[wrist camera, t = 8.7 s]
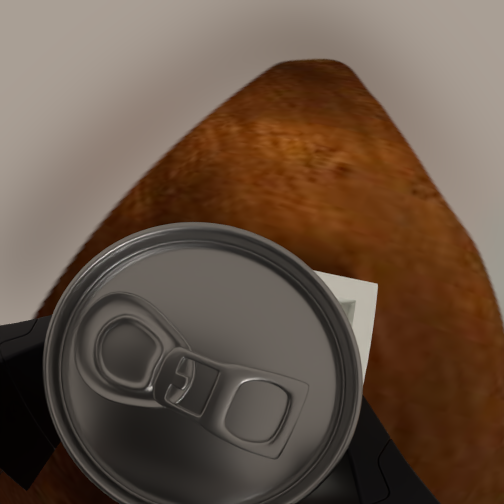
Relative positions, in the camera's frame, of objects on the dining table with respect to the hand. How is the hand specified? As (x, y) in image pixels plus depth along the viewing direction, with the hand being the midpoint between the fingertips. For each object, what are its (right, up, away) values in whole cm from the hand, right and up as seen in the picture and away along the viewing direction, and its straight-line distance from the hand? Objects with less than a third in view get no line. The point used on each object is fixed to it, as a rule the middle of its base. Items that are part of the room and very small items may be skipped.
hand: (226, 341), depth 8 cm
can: (-1, -4, +7) cm, 8 cm away
